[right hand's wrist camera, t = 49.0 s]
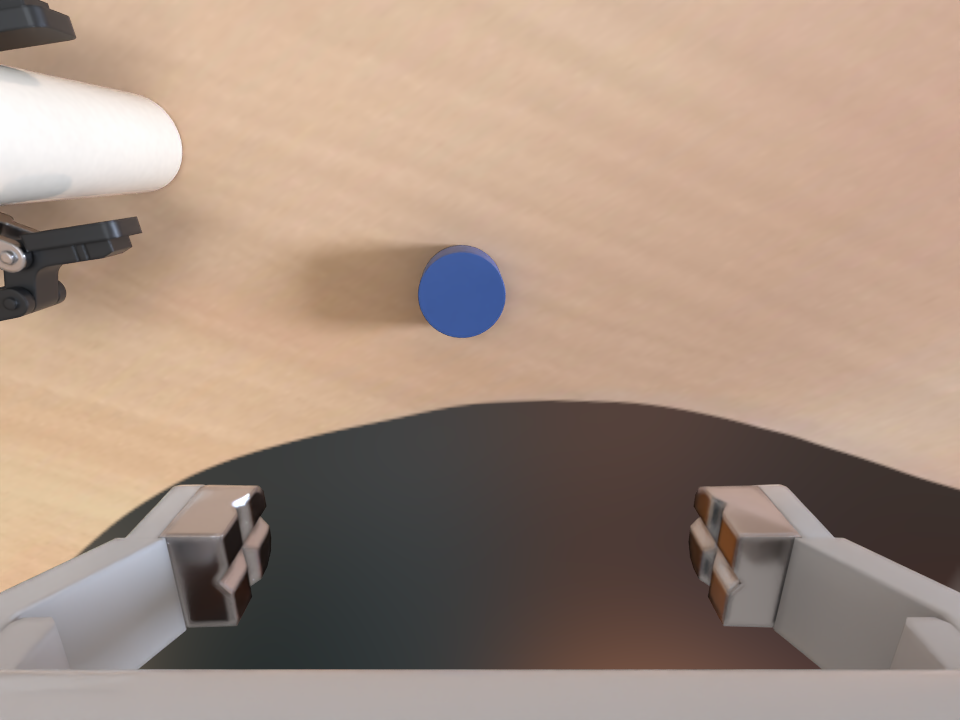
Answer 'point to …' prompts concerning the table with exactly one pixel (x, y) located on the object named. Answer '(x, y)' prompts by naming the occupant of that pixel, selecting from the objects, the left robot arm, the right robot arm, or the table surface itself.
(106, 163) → the bottle
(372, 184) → the table surface
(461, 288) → the cap
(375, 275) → the table surface
